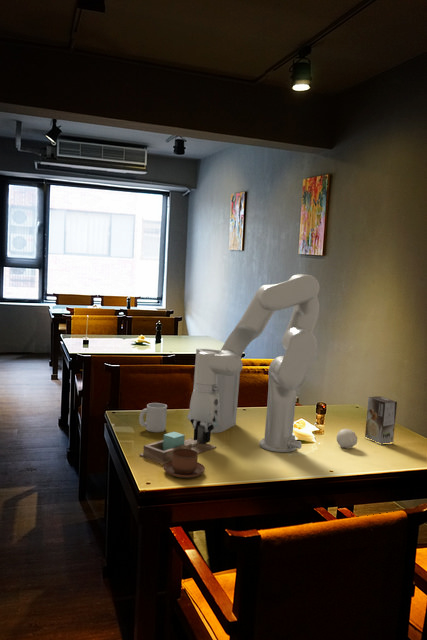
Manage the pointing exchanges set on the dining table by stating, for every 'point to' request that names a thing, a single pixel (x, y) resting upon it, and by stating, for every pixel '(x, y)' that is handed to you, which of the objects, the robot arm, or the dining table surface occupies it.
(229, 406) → the tall white carton
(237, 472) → the dining table surface
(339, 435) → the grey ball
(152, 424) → the cup
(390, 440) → the coffee box
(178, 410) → the dining table surface
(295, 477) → the dining table surface
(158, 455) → the lane
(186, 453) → the cup and saucer
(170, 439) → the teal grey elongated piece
